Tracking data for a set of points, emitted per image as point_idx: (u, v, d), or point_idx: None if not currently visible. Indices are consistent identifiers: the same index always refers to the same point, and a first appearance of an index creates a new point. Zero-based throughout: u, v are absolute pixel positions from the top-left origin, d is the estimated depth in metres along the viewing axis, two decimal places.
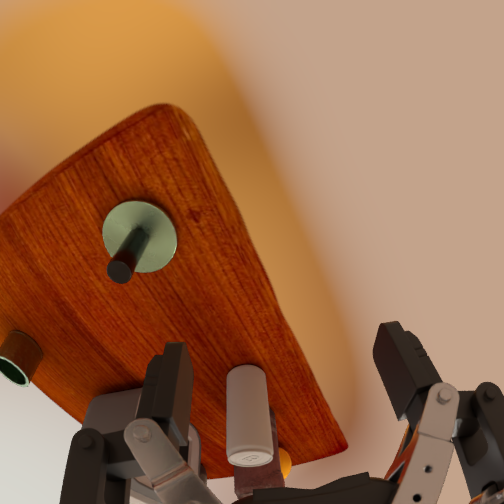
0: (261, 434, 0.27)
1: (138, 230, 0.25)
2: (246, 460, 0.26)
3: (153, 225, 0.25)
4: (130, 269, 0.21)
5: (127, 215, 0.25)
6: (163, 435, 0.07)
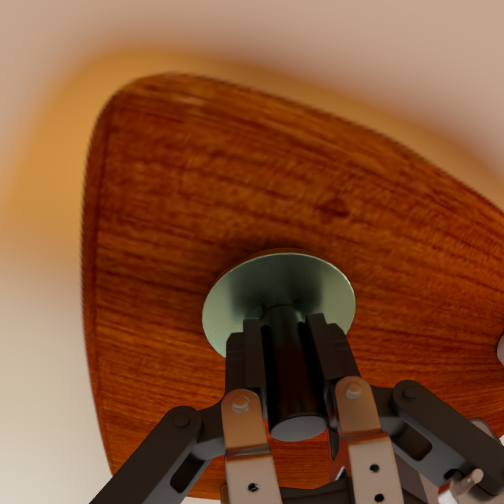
0: None
1: (270, 312, 0.13)
2: None
3: (285, 285, 0.13)
4: (318, 412, 0.08)
5: (232, 306, 0.13)
6: (260, 412, 0.08)
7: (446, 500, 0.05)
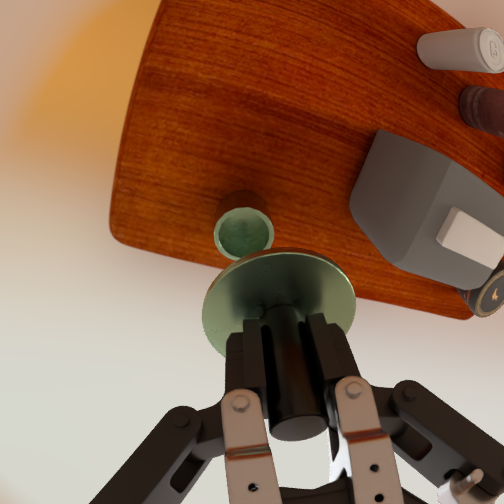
0: (475, 28, 0.17)
1: (270, 312, 0.13)
2: (494, 55, 0.17)
3: (285, 284, 0.13)
4: (319, 411, 0.08)
5: (232, 306, 0.13)
6: (260, 412, 0.08)
7: (446, 500, 0.05)
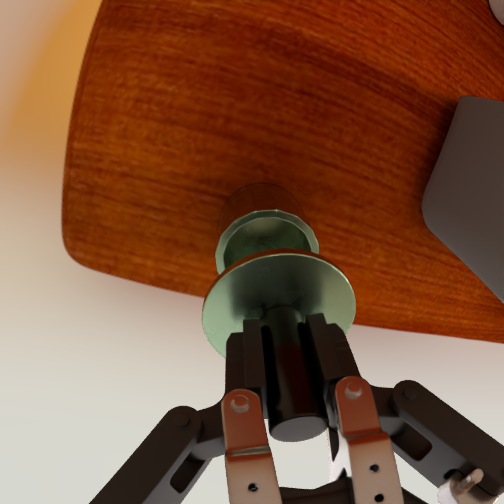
0: None
1: (270, 313, 0.13)
2: None
3: (285, 285, 0.13)
4: (318, 412, 0.08)
5: (232, 307, 0.13)
6: (260, 412, 0.08)
7: (446, 500, 0.05)
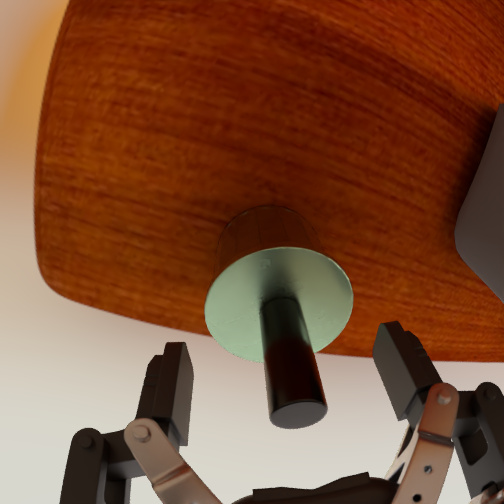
0: None
1: (270, 305, 0.13)
2: None
3: (284, 278, 0.13)
4: (317, 398, 0.09)
5: (233, 299, 0.13)
6: (163, 435, 0.07)
7: None
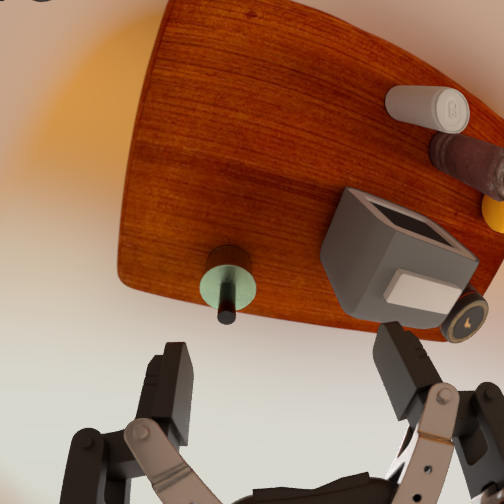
0: (436, 86, 0.23)
1: (222, 285, 0.37)
2: (453, 116, 0.23)
3: (227, 275, 0.37)
4: (230, 311, 0.33)
5: (210, 283, 0.38)
6: (163, 435, 0.07)
7: None
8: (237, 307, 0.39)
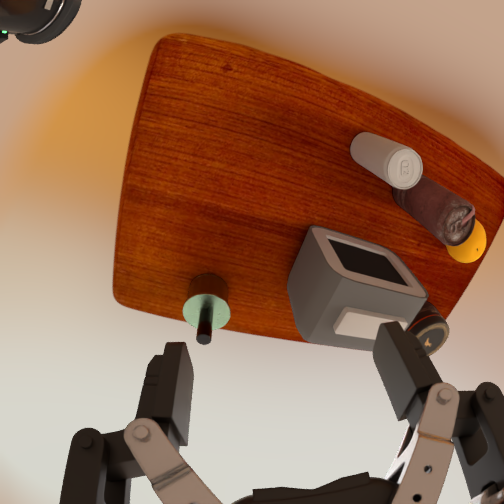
0: (393, 144, 0.30)
1: (201, 310, 0.44)
2: (405, 174, 0.29)
3: (205, 302, 0.43)
4: (206, 334, 0.39)
5: (191, 308, 0.44)
6: (163, 435, 0.07)
7: None
8: (215, 327, 0.46)
